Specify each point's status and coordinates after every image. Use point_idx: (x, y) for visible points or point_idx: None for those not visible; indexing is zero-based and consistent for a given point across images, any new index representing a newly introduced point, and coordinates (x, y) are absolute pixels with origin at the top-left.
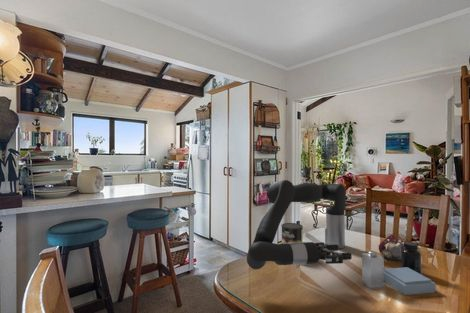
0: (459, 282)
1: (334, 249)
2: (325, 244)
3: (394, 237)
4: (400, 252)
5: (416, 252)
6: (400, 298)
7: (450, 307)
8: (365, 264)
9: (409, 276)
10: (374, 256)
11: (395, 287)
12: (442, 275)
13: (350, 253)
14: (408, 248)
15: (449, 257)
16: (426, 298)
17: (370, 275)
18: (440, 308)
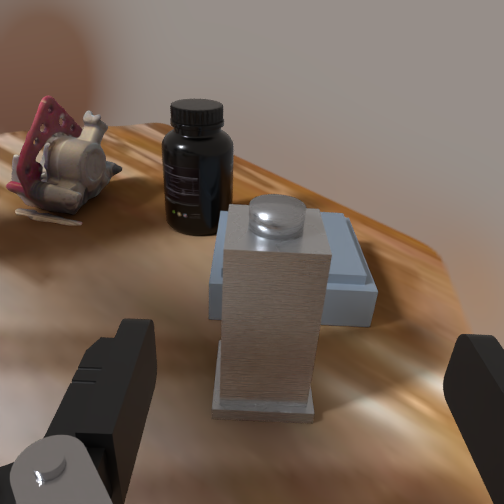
0: (286, 186)
1: (144, 409)
2: (40, 491)
3: (59, 109)
4: (105, 164)
5: (225, 134)
6: (401, 356)
7: (441, 271)
8: (259, 312)
9: None
10: (303, 228)
11: None
12: (239, 186)
13: (496, 340)
14: (208, 127)
15: (150, 134)
16: (389, 286)
17: (308, 357)
18: (456, 294)
